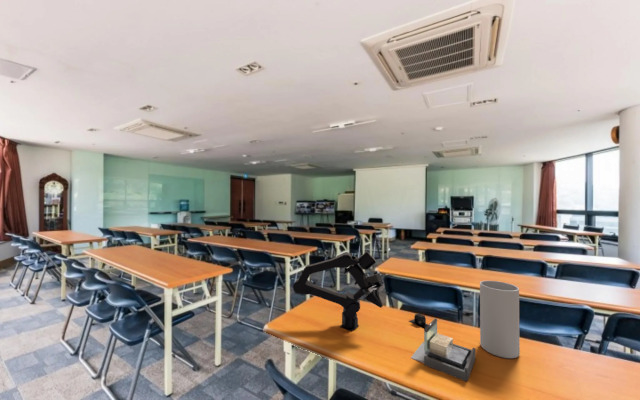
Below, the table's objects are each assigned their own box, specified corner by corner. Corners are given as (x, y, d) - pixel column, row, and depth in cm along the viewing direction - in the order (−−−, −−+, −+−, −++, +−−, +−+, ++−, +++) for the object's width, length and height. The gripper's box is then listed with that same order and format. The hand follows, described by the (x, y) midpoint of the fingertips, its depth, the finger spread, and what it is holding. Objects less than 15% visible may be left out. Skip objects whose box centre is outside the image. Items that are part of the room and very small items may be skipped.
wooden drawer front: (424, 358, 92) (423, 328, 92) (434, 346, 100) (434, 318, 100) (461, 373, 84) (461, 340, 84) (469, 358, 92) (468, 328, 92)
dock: (409, 361, 93) (409, 348, 93) (423, 343, 105) (423, 331, 105) (467, 385, 81) (467, 369, 81) (475, 361, 93) (475, 347, 93)
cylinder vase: (519, 348, 100) (519, 284, 101) (519, 364, 90) (519, 293, 91) (482, 337, 108) (481, 278, 108) (478, 351, 98) (478, 286, 98)
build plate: (436, 328, 117) (436, 318, 117) (426, 332, 113) (426, 322, 113) (413, 318, 128) (414, 308, 128) (404, 321, 124) (404, 312, 124)
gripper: (359, 270, 105) (384, 303, 98) (380, 262, 120) (403, 290, 112) (343, 285, 110) (366, 318, 103) (365, 275, 125) (386, 304, 117)
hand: (381, 307), depth 109 cm, fingers closed
